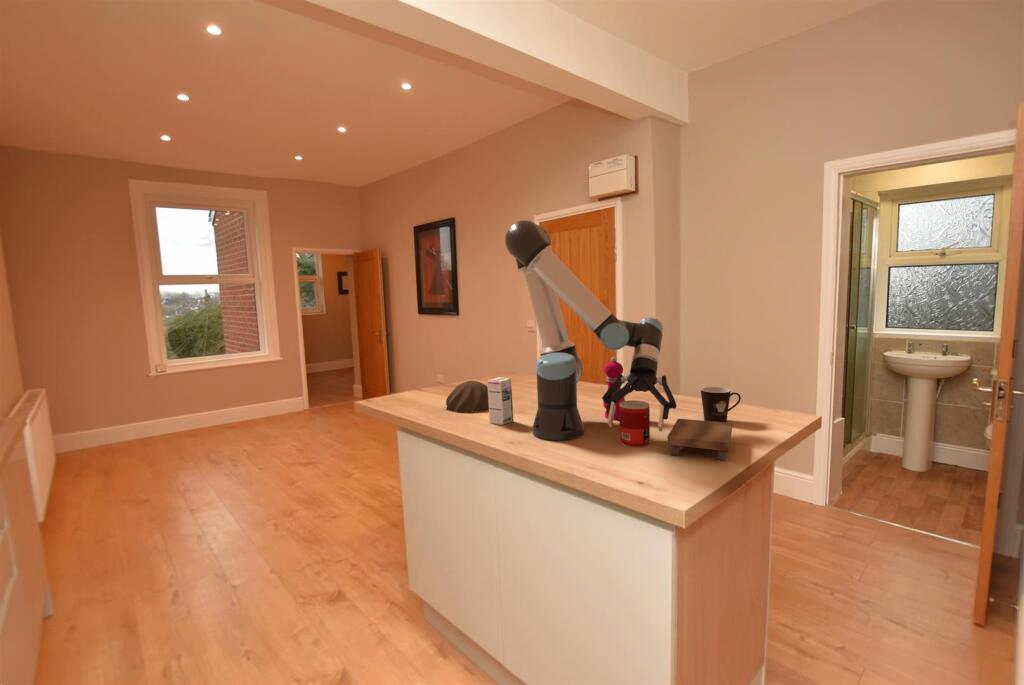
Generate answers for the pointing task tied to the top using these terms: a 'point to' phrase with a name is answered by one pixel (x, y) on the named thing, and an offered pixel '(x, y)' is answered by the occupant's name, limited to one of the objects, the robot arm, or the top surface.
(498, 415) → the syrup box
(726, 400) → the coffee mug
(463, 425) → the top surface
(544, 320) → the robot arm
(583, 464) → the top surface
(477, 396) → the decorative dome
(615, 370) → the pepper mill
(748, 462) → the top surface
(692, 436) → the walnut shelf
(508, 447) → the top surface
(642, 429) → the canned food
